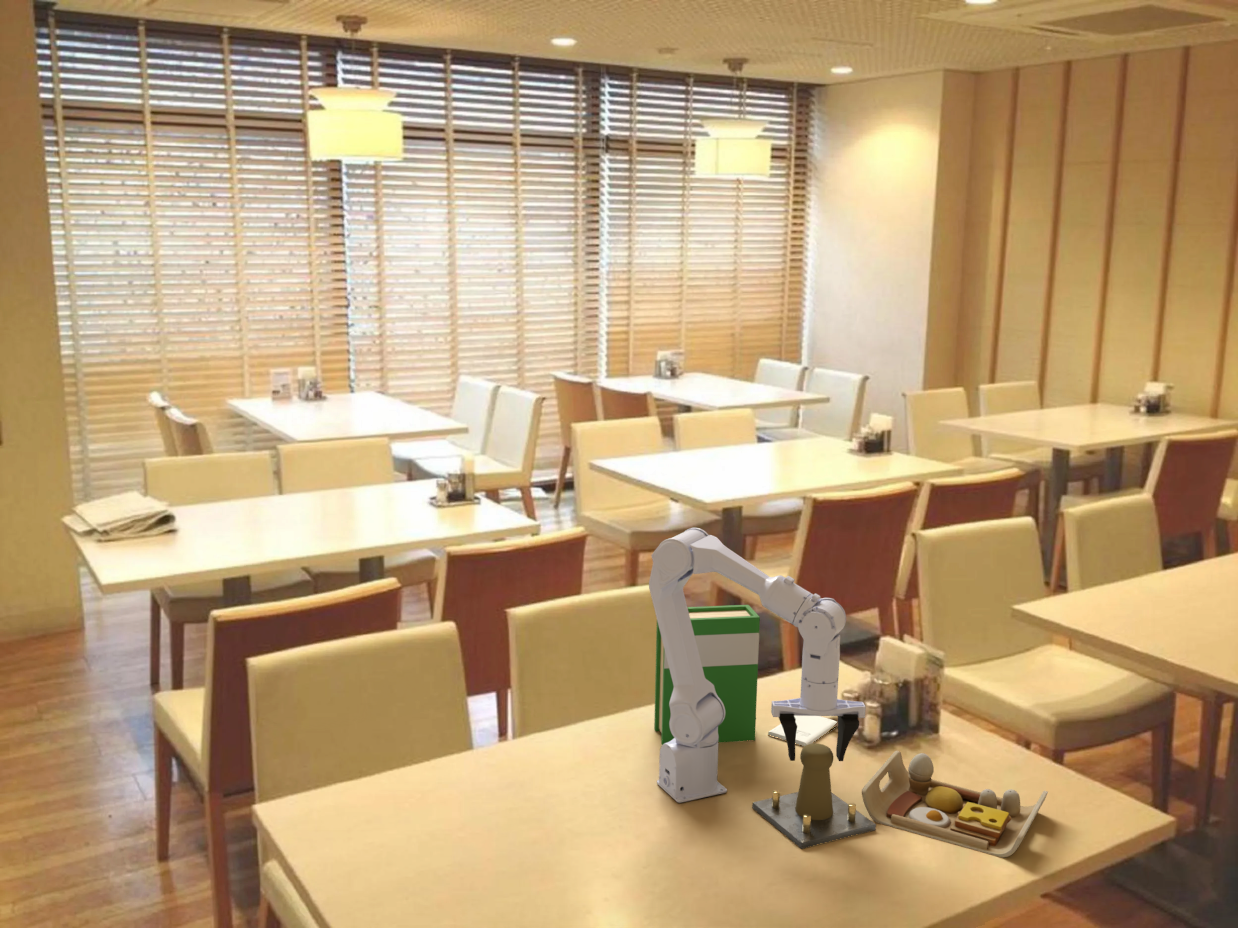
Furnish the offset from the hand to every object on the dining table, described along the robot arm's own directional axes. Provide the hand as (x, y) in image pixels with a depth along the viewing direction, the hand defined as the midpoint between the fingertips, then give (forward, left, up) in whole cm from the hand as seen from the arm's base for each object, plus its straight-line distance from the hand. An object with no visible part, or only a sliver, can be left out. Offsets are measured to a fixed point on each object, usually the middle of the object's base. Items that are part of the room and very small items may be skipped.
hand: (815, 758), depth 178 cm
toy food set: (+22, -9, -11) cm, 26 cm away
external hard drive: (+18, +29, -11) cm, 36 cm away
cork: (+1, +1, -10) cm, 10 cm away
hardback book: (0, +35, -11) cm, 37 cm away
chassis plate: (0, 0, -10) cm, 10 cm away
